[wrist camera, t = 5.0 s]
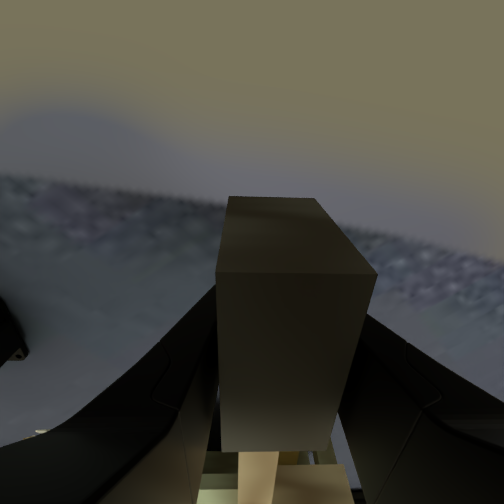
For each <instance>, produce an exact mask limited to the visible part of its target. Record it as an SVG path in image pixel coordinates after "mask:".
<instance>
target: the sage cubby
mask: <svg viewBox="0 0 504 504" xmlns="http://www.w3.org/2000/svg"><path fill="white" fill-rule="evenodd" d="M312 452H313V457H314V462H315V465H327V464H337V461H336V457H335V453H334V449H333V445H332V442H331V438H330V439H329V442H328V446H327V449H326V451H312ZM238 455H239V452H222V451H206V456H205V461H204V467H203V472H202V477H201V483H200V488H199V493H198V499H197V504H238ZM297 465H310V462H309V457H308V451H299V456H298V460H297Z"/></svg>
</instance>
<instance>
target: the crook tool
mask: <svg viewBox="0 0 504 504" xmlns="http://www.w3.org/2000/svg"><path fill="white" fill-rule="evenodd" d="M215 275H216V304H217V333H218V362H219V391H220V419H221V448H222V452H239V455H238V504H354V500H353V497H352V493H351V490H350V486H349V483H348V479H347V476H346V472H345V469H344V465H343V464H327V465H277V463H278V457H279V452H281V451H326V449H327V446H328V442H329V439H330V436H331V432H332V429H333V425H334V422H335V419H336V415H337V412H338V408H339V405H340V402H341V398H342V395H343V391H344V388H345V385H346V381H347V378H348V374H349V371H350V368H351V364H352V361H353V357H354V354H355V350H356V347H357V344H358V340H359V337H360V333H361V330H362V327H363V323H364V320H365V316H366V313H367V310H368V306H369V303H370V299H371V296H372V293H373V289H374V286H375V282H376V279H377V276H378V274H377V273H376V271H375V270H374V269H373V268H372V267H371V265H370V264H369V263H368V262H367V261H366V259H365V258H364V257H363V256H362V255H361V253H360V252H359V251H358V250H357V249H356V247H355V246H354V245H353V244H352V243H351V241H350V240H349V239H348V238H347V237H346V235H345V234H344V233H343V232H342V231H341V229H340V228H339V227H338V226H337V225H336V223H335V222H334V221H333V220H332V219H331V217H330V216H329V215H328V214H327V213H326V211H325V210H324V209H323V208H322V207H321V205H320V204H319V203H318V202H317V201H316V200H315V199H314V198H283V197H242V196H240V197H239V196H229V199H228V204H227V210H226V215H225V221H224V227H223V232H222V238H221V243H220V249H219V255H218V260H217V266H216V271H215Z"/></svg>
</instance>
